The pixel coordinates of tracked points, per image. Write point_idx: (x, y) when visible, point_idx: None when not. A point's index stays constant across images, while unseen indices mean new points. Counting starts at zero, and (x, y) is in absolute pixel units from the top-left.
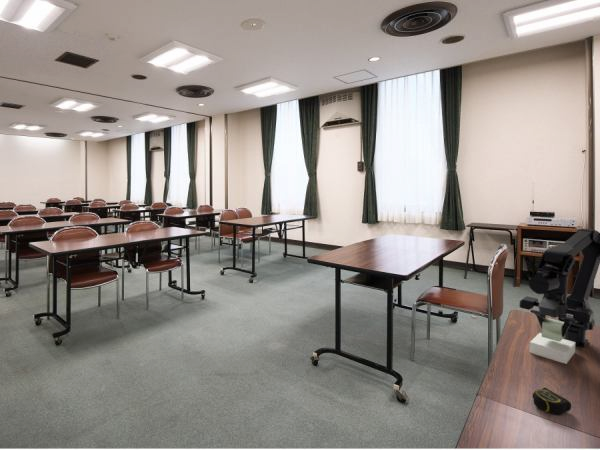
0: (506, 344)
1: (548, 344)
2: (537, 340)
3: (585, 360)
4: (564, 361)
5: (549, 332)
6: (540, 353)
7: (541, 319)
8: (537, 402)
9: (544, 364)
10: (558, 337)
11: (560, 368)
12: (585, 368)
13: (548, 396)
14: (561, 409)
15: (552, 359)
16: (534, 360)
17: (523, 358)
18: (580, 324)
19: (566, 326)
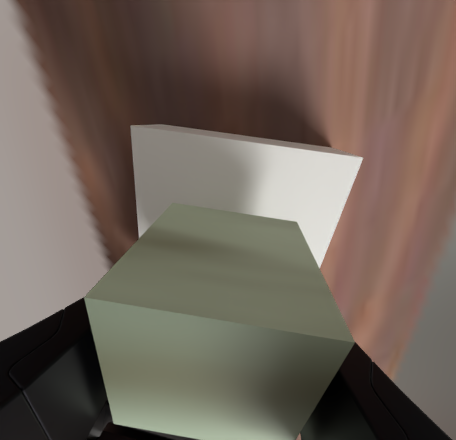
0: (452, 174)
1: (246, 192)
2: (311, 214)
3: (117, 215)
4: (166, 125)
5: (243, 243)
6: (280, 141)
7: (373, 410)
8: None
9: (250, 23)
10: (173, 218)
11: (170, 34)
12: (90, 131)
13: None
14: None
15: (221, 132)
16: (306, 43)
17: (372, 21)
18: (109, 424)
19: (35, 335)
